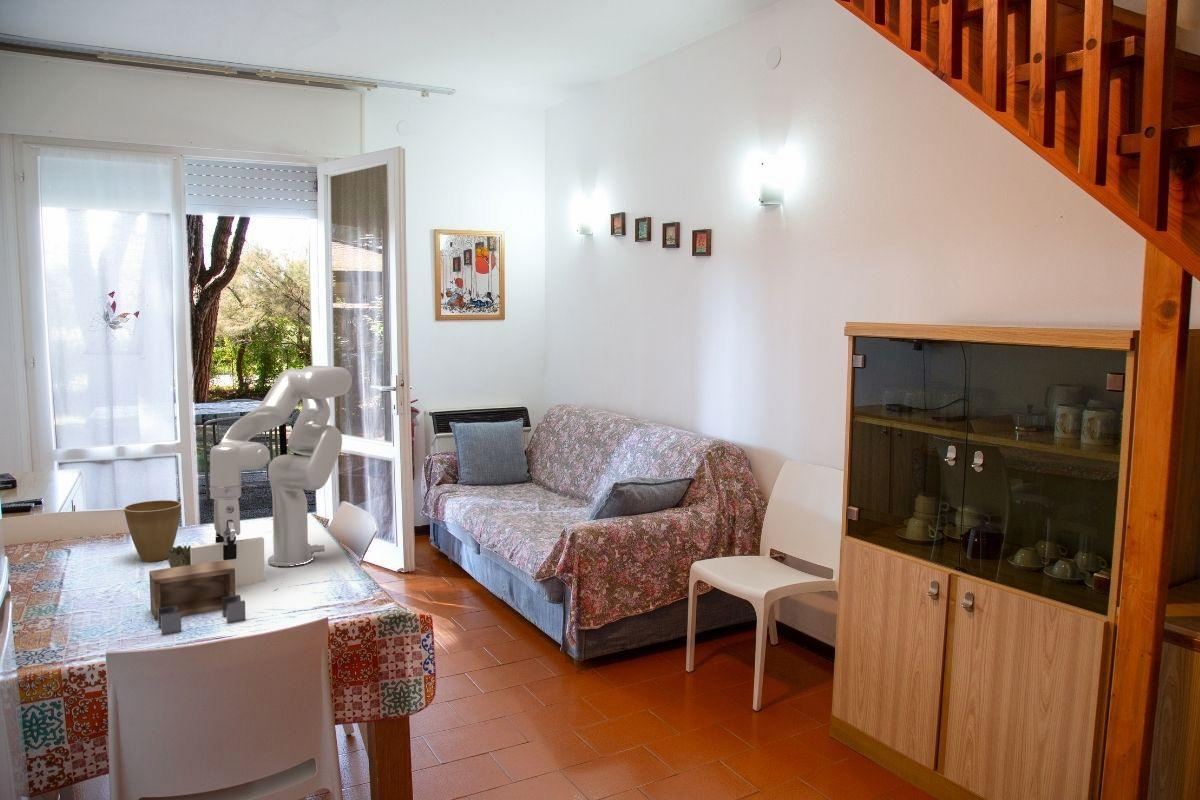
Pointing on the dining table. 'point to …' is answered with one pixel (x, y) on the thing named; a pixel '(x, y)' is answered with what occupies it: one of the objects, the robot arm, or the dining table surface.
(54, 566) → the dining table surface
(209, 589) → the cabinet body
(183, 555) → the dark textured ornament
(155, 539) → the plant pot
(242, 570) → the cabinet door
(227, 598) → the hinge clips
